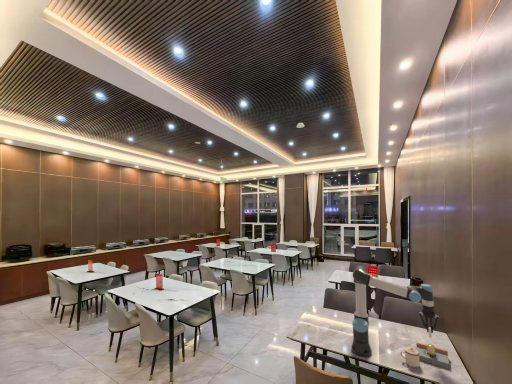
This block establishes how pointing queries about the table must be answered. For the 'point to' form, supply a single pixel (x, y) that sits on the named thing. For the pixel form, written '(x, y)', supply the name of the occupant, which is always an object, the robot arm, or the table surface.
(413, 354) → the teacup with lid
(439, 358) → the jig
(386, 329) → the table surface
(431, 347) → the brass cylinder
